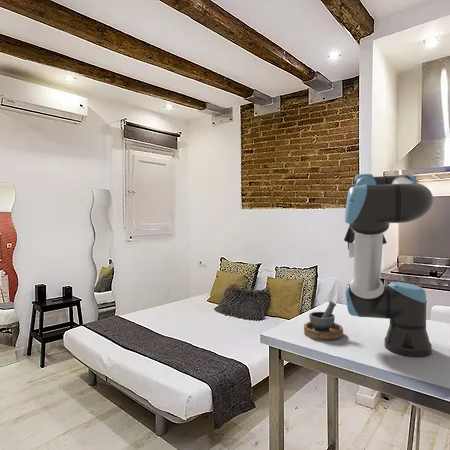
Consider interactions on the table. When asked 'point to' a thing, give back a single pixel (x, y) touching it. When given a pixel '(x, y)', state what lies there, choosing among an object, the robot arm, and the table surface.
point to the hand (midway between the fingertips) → (364, 259)
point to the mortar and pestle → (323, 319)
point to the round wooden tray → (334, 333)
